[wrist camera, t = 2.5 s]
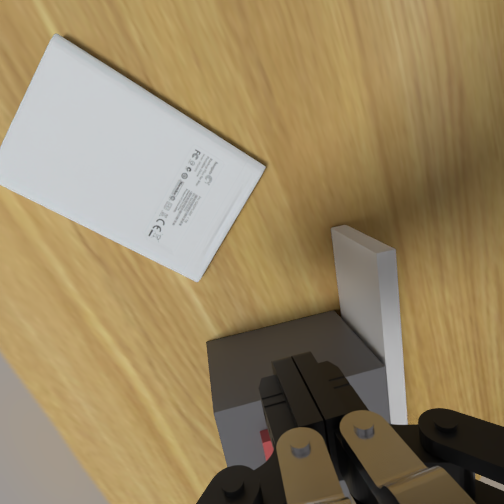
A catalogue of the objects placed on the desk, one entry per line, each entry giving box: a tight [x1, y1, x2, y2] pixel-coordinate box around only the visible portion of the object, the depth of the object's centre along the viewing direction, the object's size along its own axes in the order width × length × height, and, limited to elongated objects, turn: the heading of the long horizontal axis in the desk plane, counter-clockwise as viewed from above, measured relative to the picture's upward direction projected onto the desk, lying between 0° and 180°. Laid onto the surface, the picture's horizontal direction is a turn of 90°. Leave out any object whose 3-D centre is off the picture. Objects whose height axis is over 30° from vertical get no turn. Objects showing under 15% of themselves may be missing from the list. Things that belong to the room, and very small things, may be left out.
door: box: [331, 225, 408, 425], centre depth 24 cm, size 18×2×6 cm, turn 10°
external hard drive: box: [0, 34, 266, 282], centre depth 21 cm, size 2×8×12 cm
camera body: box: [206, 310, 390, 499], centre depth 24 cm, size 13×9×8 cm
